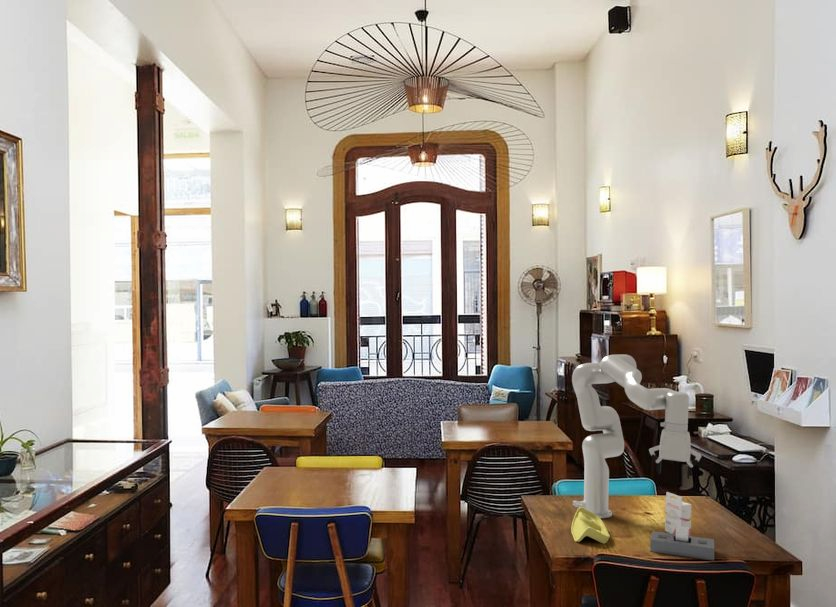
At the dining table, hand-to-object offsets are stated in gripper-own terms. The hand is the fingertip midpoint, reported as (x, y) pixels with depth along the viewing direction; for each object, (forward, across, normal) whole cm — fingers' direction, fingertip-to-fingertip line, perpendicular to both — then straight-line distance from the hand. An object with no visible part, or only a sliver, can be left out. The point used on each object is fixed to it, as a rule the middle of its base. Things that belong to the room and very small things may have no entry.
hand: (673, 475), depth 247 cm
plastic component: (+25, -27, -4) cm, 37 cm away
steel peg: (+24, +4, -7) cm, 25 cm away
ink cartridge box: (+24, +2, +12) cm, 27 cm away
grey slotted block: (+24, +4, -7) cm, 25 cm away
